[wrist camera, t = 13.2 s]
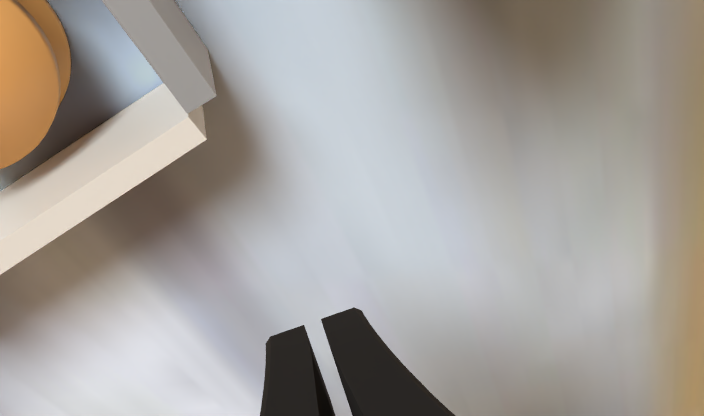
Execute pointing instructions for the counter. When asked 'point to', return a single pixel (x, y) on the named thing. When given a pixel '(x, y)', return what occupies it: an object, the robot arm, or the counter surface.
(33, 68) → the door knob
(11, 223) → the cover
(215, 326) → the counter surface
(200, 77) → the open grey tray
